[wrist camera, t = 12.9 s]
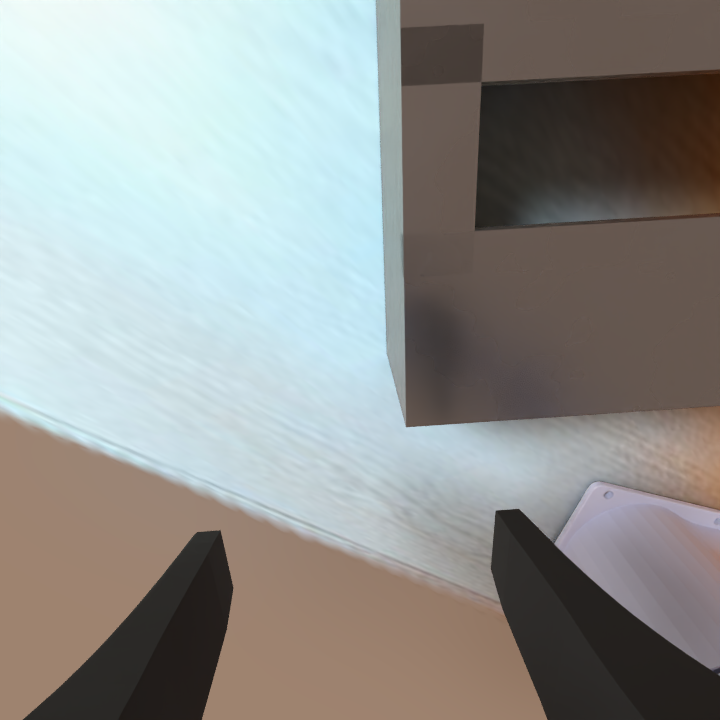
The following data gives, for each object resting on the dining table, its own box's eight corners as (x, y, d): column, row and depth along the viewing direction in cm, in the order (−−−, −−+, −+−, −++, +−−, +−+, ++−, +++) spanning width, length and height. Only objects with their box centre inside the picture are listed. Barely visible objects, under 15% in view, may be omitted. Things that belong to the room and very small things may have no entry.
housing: (386, 353, 21) (406, 426, 15) (372, -101, 15) (396, -283, 9) (726, 331, 21) (876, 395, 15) (852, -123, 15) (1188, -312, 9)
